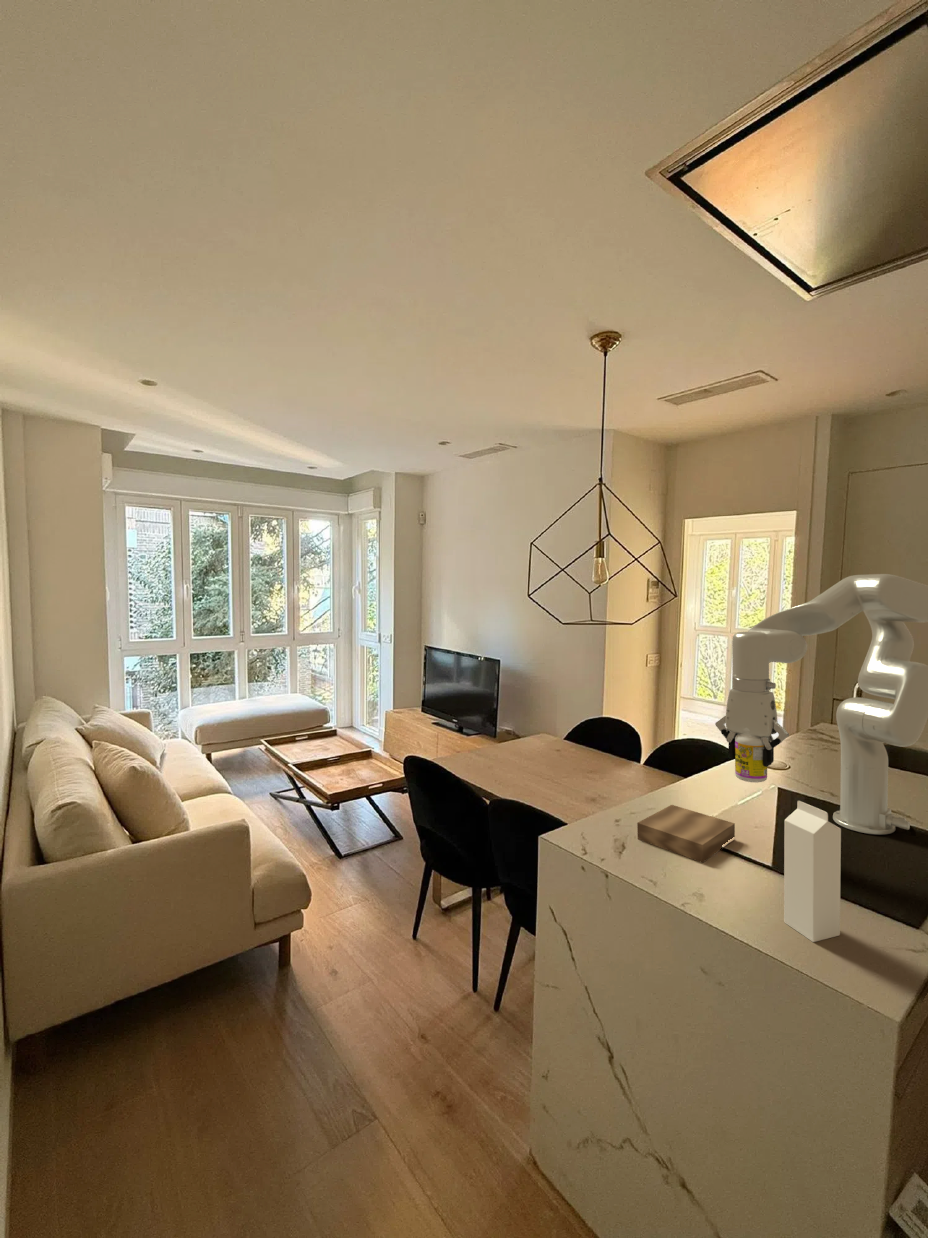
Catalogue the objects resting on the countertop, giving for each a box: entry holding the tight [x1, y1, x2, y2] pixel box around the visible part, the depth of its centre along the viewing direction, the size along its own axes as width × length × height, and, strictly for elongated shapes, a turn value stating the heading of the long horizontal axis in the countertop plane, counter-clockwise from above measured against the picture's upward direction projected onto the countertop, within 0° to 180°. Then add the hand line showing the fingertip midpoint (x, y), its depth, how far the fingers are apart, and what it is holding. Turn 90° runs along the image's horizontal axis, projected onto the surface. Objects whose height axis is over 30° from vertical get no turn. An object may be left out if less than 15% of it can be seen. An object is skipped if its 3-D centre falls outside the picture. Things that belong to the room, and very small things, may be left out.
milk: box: [783, 800, 842, 943], centre depth 97 cm, size 6×6×22 cm
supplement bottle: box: [734, 728, 768, 784], centre depth 128 cm, size 7×7×13 cm
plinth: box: [636, 804, 736, 863], centre depth 132 cm, size 16×16×4 cm
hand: (750, 761), depth 128 cm, fingers closed on supplement bottle, 6 cm apart
